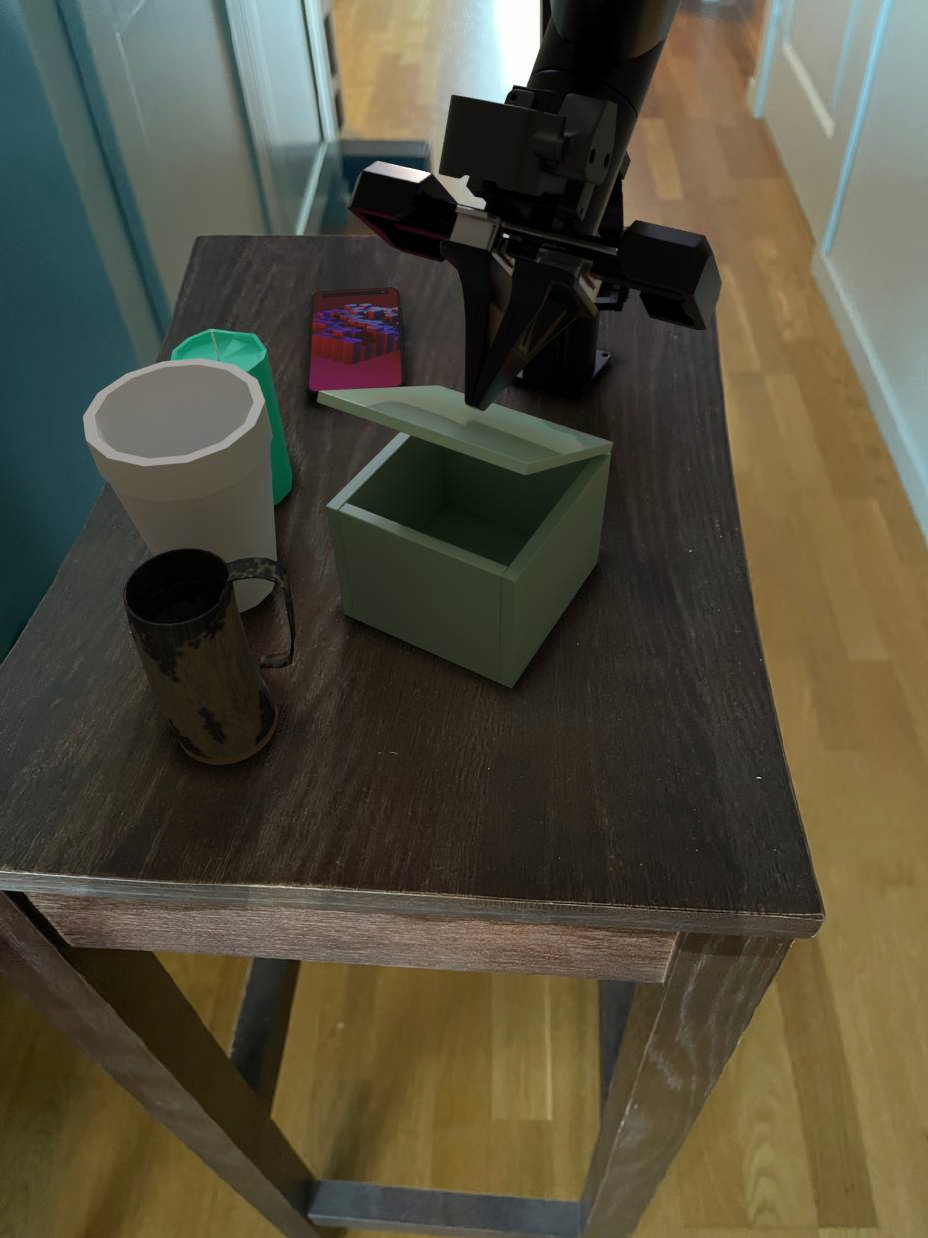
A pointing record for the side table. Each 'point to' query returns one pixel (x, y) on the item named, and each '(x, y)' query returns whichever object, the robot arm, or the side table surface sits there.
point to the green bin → (466, 551)
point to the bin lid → (469, 426)
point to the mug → (205, 650)
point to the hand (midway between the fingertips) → (474, 407)
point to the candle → (255, 362)
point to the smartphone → (355, 340)
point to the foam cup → (190, 461)
